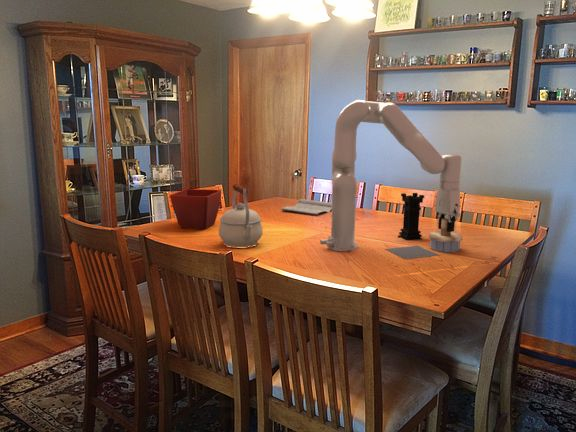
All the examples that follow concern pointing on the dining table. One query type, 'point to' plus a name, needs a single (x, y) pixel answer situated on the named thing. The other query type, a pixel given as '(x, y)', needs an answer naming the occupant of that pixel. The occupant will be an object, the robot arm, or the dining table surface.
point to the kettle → (240, 223)
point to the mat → (309, 207)
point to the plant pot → (196, 207)
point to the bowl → (445, 246)
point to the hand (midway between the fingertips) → (446, 229)
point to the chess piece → (411, 217)
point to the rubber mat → (411, 252)
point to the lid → (445, 234)
